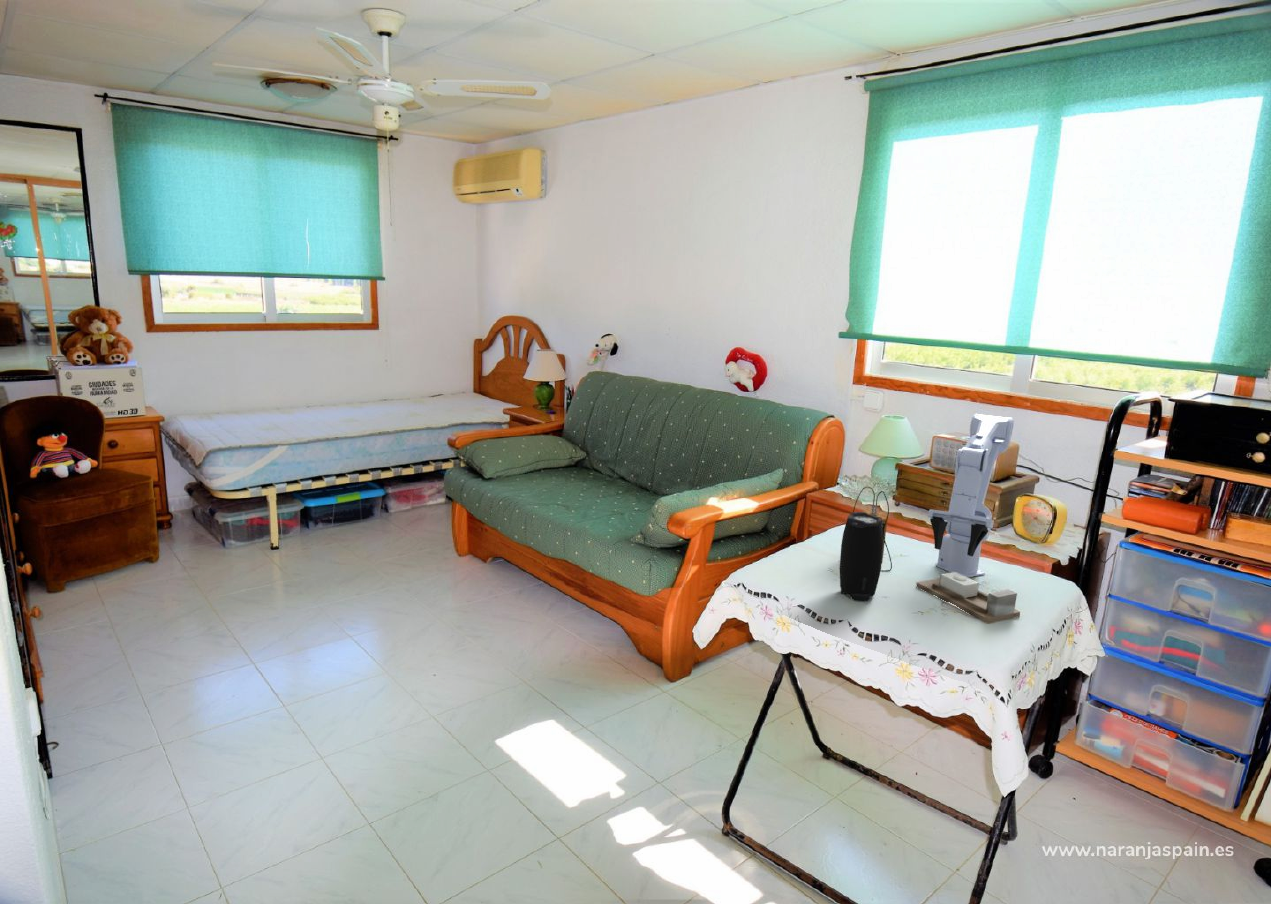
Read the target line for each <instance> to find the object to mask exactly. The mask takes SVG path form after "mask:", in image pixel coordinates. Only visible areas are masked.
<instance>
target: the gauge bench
mask: <svg viewBox="0 0 1271 904" xmlns="http://www.w3.org/2000/svg"><path fill="white" fill-rule="evenodd" d="M939 582H940V577H939V578H933V579H928V580H923V581H917V582H916V586H915V587H916V588H917V587H918V588H917V589H919V588H920V589H919V590H921V589H922V590H921V591H923V590H924V592H925V591H926V592H925V593H927V594H929V595H931V596H933V595H935V596H937V597H938V598H937V597H936V598H937V599H939V598H940V599H939V600H941V599H942V600H944V601H946V602H950V603H952V604H954V605H956V606H957V607H959V608H960V609H962V610H964V611H965V612H964V611H963V612H964V613H966V612H967V613H969V614H970V615H969V614H968V615H969V616H971V617H973V618H975V619H977V620H979V621H981V622H982V623H985V624H992V623H997V622H1001V621H1005V620H1006V621H1007V620H1010V619H1014V617H1016V618H1019V617H1020V615H1021V611H1019V610H1017V609H1015V608H1016V603H1017V597H1018V593H1017V592H1015V591H1013V590H1011V589H1009V588H1007V589H1002V590H996V591H991V592H988V593H985V592H982V591H980V590H979V589H978V592H977V596H972V597H967V598H965V597H963V596H961V595H959V594H957V593H955V592H953V591H951V590H949V589H947V588H945V587H943V586H941V585H940V584H939ZM935 596H934V597H935ZM942 600H941V601H942ZM944 601H943V602H944ZM946 602H945V603H946ZM960 609H959V610H960ZM962 610H961V611H962ZM967 613H966V614H967Z"/></svg>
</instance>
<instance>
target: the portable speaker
mask: <svg viewBox="0 0 1271 904" xmlns="http://www.w3.org/2000/svg"><path fill="white" fill-rule="evenodd" d="M882 524H883V522H882V517H876V516H873V515H870V514H867V513H865V512H864V511H854V512H853V511H852V512H851V513H849V515H848V516H847V519H846V522H845V526H844V529H843V533H842V538H841V545H840V558H839V561H840V562H839V587H840V594H842V595H844V594H845V595H848V597H849V596H850V598H851V600H852V601H855V602H868V601H870V600H871V597H873V596H874V595H875V594H876V591H877V589H878V588H877V587H878V583H879V581H880V580H879V579H880V576H881V572H882V571H881V570H882V564H883V561H882V552H883V530H882Z"/></svg>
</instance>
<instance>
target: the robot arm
mask: <svg viewBox="0 0 1271 904" xmlns="http://www.w3.org/2000/svg"><path fill="white" fill-rule="evenodd" d="M1014 422H1015V421H1014V419H1013V417H1010V416H1009V417H1004V416H995V415H988V414H979V413H975V414H973V415H972V416H971V421H970V426H969V438H968V440H967V442H966V444H965V445H964V447H962V448H959V449H958V450H957V453H956V457H955V458H956V459H955V470H954V476H955V478H954V481H953V487H952V491H951V497H950V502H949V506H948V511H946V510H937V509H931V508H930V509H929V511H928V514H927V517H928V518H930V519H929V520H930V524H931V528H932V532H933V539H934V541H933V542H934V549H935V550H937V551H938V558H937V562H936V563H935V566H936V567H938V568H940V569H943V570H944V571H947V572H948V573H951V572H957V573H959V574H961V575H963V576H965V577H967V578H972V577H977V576H982V575H983V576H984V575H986V572H985V571H983V570H981V569H979V563H980V558H981V557H980V555H981V549H982V542H986V541H987V540H988V539H989V537H990V532H991V530H993V529H994V528H993V527H994V523H995V520H993V519H992V518H993V515H992V512H991V510H990V509H989V508H988V507H987V506H986V505H985V500H986V496H987V494H988V493H987V492H988V489H989V485H990V481H991V476H992V473H993V470H994V465H995V463H996V461H997V459H998V457H999V455H1000V454H1003V453H1005V452H1007V451H1008V448H1009V446H1010V442H1011V438H1012V435H1013V429H1014V424H1015V423H1014ZM945 532H946V534H945ZM944 534H945V535H944Z"/></svg>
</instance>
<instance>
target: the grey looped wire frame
mask: <svg viewBox="0 0 1271 904" xmlns="http://www.w3.org/2000/svg"><path fill="white" fill-rule="evenodd" d="M866 488H867V489H871V490H872V493H873V499H872V500H873V501H872V508H871V510H865V511H864V510H863V512H865V513H867V514H870V515H873V516H876V517H882V522H883V524H882V530H883V552H882V562H883V560H884V551H885V547H886V550H887V554H888V557H889V561H890V569H887V570H883V569H881V572H890V571H892V568H893V562H892V558H891V554H890V551H889V548H888V546H887V545H888V544H887V543H886V542H887V541H886V533H887V527H888V526H887V525H888V519H889V514H890V507H889V501H888V498H887V495H886V494H885V492H884V491H883V490H881V491H880V492H879V493H878V494H877V496H876V494H875V491H874V489H873V488H872V487H870V486H864V487H863V488H862V489H861V490H860V492H859V494H858V495H857V498H856V501H855V503H854V506H853V509H852V512H855V509H856V506H857V502H858V500H859V497H860V496H861V493H862V492H863V491H864V490H865V489H866ZM881 493H883V496H884V498H885V500H886V504H887V514H886V515H887V516H883V515H880V514H878V498H879V496H880V494H881ZM875 496H876V500H875ZM838 562H839V563H840V560H838Z"/></svg>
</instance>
